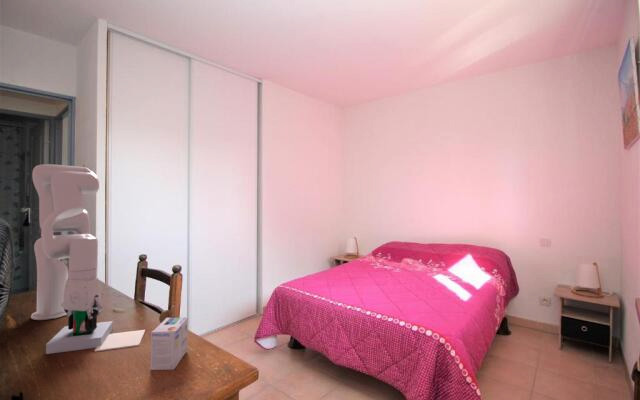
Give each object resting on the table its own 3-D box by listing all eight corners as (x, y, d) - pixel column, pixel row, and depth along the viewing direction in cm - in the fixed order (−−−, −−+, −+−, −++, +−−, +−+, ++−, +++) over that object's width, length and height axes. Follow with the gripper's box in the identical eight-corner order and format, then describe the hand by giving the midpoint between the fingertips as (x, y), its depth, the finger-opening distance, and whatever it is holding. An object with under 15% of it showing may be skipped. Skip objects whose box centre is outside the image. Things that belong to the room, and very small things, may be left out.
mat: (105, 335, 107) (105, 334, 107) (145, 330, 111) (145, 329, 111) (94, 351, 96) (94, 350, 96) (139, 345, 100) (139, 344, 100)
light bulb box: (165, 351, 96) (165, 316, 96) (187, 351, 97) (188, 316, 97) (149, 370, 86) (150, 331, 86) (174, 370, 86) (175, 331, 86)
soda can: (81, 345, 100) (81, 307, 100) (68, 343, 101) (69, 306, 101) (95, 338, 105) (96, 302, 105) (83, 336, 106) (83, 301, 106)
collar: (64, 334, 107) (65, 326, 107) (112, 329, 112) (112, 321, 112) (46, 354, 94) (46, 344, 94) (101, 346, 99) (101, 337, 99)
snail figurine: (180, 338, 106) (181, 302, 106) (165, 346, 100) (166, 308, 100) (168, 335, 108) (168, 300, 108) (152, 343, 102) (153, 306, 102)
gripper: (49, 275, 100) (48, 331, 100) (96, 278, 98) (95, 335, 98) (71, 270, 108) (70, 322, 108) (115, 273, 105) (114, 326, 105)
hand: (82, 328), depth 103 cm, fingers open, 6 cm apart
